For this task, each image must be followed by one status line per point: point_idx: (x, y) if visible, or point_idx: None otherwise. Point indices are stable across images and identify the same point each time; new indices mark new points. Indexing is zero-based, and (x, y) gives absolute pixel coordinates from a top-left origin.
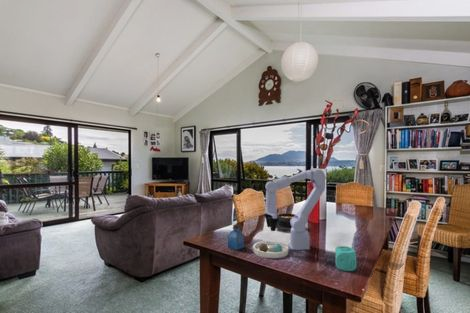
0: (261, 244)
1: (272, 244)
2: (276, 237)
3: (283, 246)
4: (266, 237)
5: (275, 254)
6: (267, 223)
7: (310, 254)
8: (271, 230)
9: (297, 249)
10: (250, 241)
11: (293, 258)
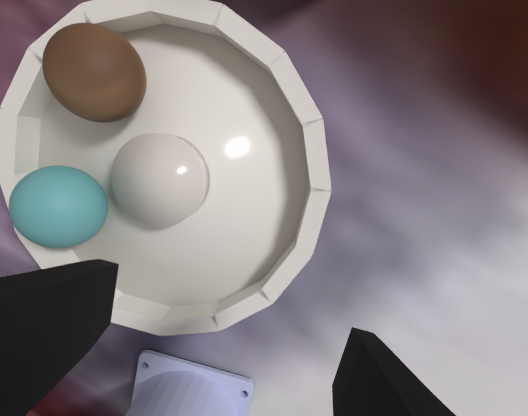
0: (72, 39)
1: (279, 260)
2: (473, 404)
3: (179, 309)
4: (523, 325)
5: (6, 141)
6: (373, 373)
7: (52, 400)
8: (90, 262)
9: (136, 379)
10: (493, 115)
11: (12, 263)
